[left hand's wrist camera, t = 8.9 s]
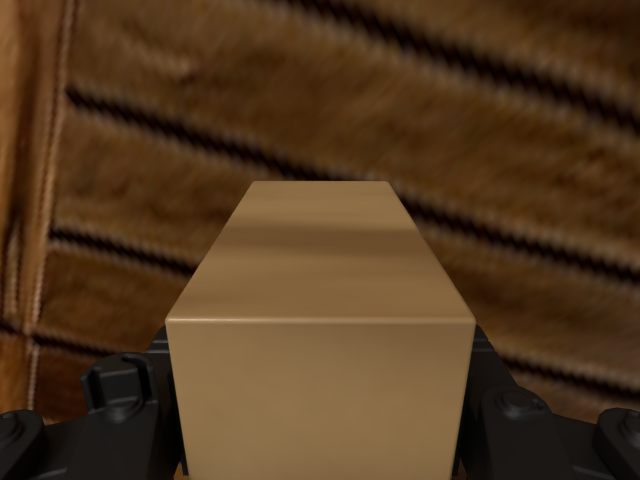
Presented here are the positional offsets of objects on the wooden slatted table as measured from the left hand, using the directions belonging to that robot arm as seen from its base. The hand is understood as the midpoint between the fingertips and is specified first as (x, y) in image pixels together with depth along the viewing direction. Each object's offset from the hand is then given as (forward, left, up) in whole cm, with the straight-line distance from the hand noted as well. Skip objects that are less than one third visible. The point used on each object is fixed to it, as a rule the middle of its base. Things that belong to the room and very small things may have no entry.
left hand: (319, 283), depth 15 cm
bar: (-2, +8, -1) cm, 8 cm away
